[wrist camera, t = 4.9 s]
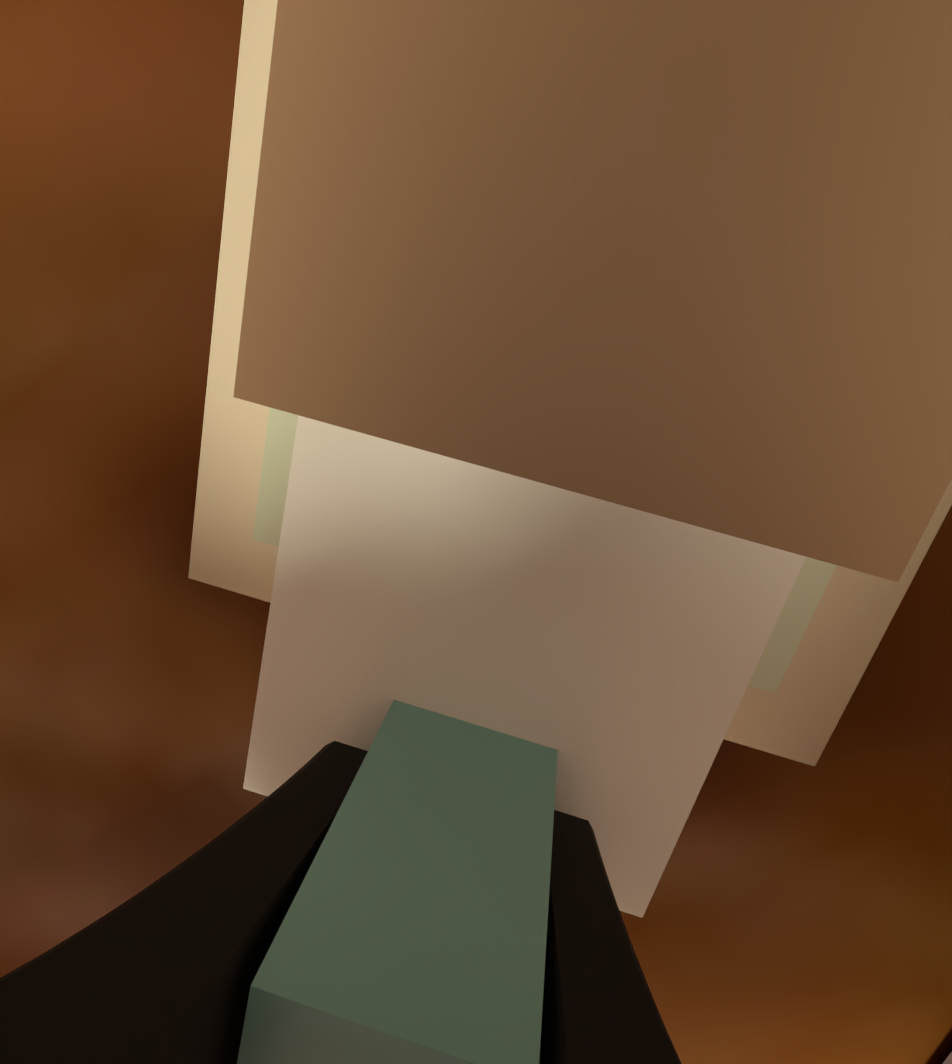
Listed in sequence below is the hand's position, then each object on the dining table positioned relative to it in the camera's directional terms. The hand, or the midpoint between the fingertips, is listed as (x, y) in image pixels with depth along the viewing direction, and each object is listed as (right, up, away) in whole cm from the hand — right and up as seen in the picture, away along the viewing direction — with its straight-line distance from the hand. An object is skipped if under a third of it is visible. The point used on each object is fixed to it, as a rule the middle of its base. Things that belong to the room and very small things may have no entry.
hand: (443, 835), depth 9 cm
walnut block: (+2, +8, -2) cm, 8 cm away
